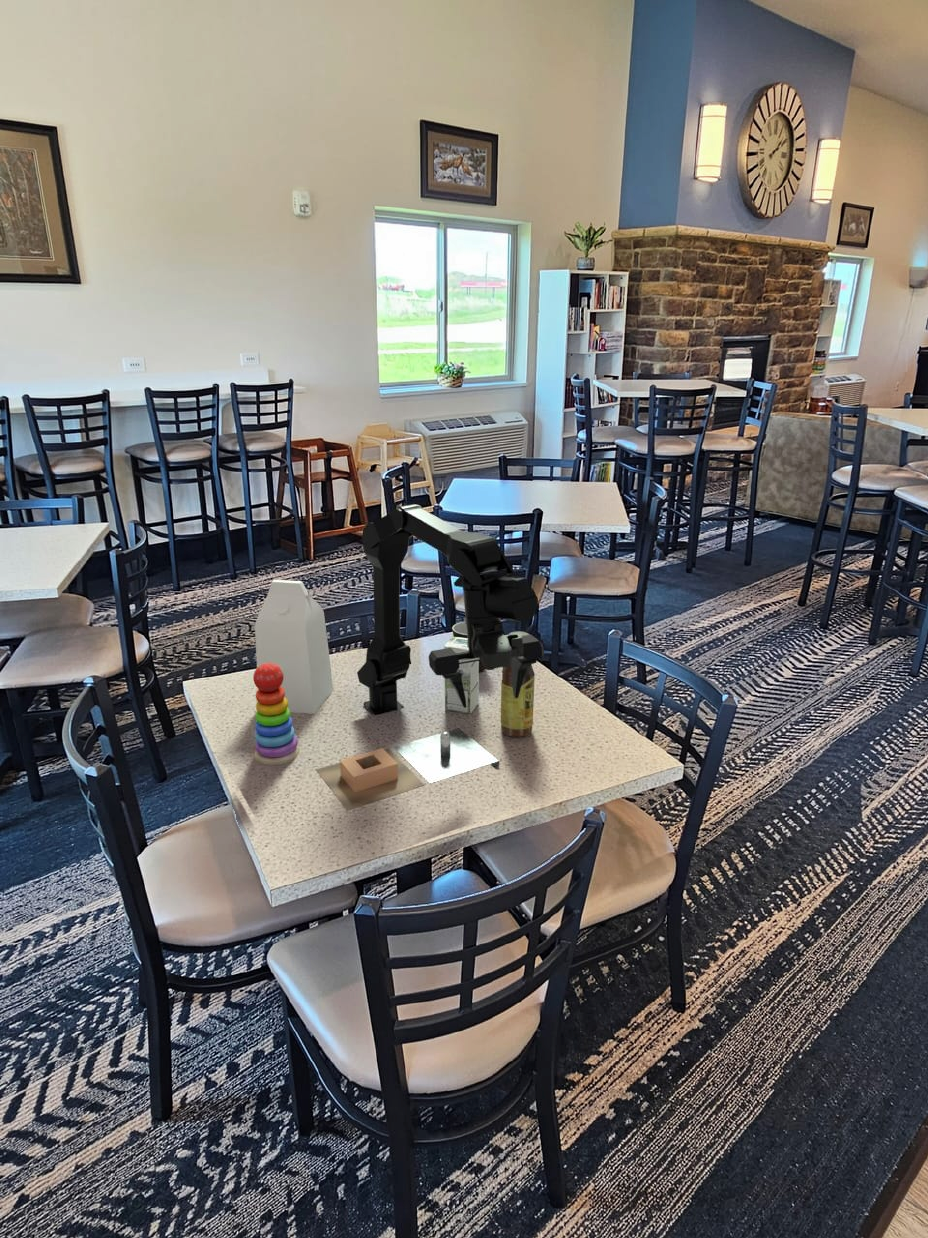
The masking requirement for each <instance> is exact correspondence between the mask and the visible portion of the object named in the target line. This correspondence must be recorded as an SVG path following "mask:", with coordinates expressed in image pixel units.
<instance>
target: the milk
mask: <svg viewBox="0 0 928 1238" xmlns="http://www.w3.org/2000/svg"><path fill="white" fill-rule="evenodd" d="M325 619H326V618H325V612H324V609H323V608H322V606H321V605H320V604H319V603H318V601H316V600H315V599H314V598H313V597H312V596H311V595H309V592H308V589H307V588H306V587H305V584H304V583H303V581H301V580H286V579H285V580H284V579H283V580H282V579H273V580H272V581H271V583H270V586H269V589H268V593H267V595H266V597H265V600H264V602H263V604H262V606H261V608H260V611H259V613H258V616H257V618H256V621H255V625H254V633H255V654H256V669H257V668H258V667H259V666H260V665H262V664H265V663H272V664H275V665H277V666H278V667H280V669H281V670H282V672H283V677H284V678H283V682H282V685H281V687H282V688H283V689H284V691H285V698H286V699H287V701H288V709H289V710H290V713H297V714H299V713H300V714H311V715H314V714H316V713H317V712H318V710H319V709H320V708H321V707H322V705H323V704H324V702H325V701H326V700H327V699H328V698H329V696H330V694H331V693H332V692H333V691H334V683H333V675H332V667H331V660H330V652H329V643H328V633H327V627H326V620H325ZM332 690H333V691H332Z"/></svg>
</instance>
